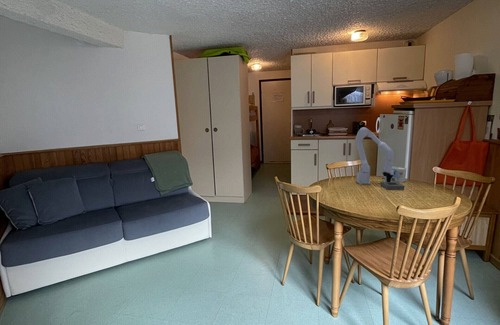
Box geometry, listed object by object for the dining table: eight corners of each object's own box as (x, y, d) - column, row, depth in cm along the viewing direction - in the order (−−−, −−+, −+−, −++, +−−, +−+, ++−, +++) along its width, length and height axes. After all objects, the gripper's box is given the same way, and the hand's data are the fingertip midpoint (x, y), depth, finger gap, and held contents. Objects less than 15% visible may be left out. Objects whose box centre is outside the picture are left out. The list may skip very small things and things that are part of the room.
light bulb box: (388, 180, 223) (389, 167, 221) (391, 178, 227) (392, 166, 225) (402, 182, 215) (403, 169, 213) (405, 181, 219) (406, 168, 217)
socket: (387, 189, 196) (387, 185, 196) (380, 185, 207) (381, 182, 206) (404, 189, 195) (404, 185, 195) (397, 185, 206) (397, 181, 206)
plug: (382, 184, 211) (383, 177, 209) (380, 183, 214) (381, 176, 213) (391, 184, 210) (391, 177, 209) (389, 183, 214) (389, 175, 212)
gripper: (398, 166, 202) (396, 184, 204) (389, 163, 216) (388, 179, 219) (388, 166, 202) (387, 184, 205) (380, 163, 217) (379, 179, 219)
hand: (387, 181), depth 212 cm, fingers closed on plug, 3 cm apart
